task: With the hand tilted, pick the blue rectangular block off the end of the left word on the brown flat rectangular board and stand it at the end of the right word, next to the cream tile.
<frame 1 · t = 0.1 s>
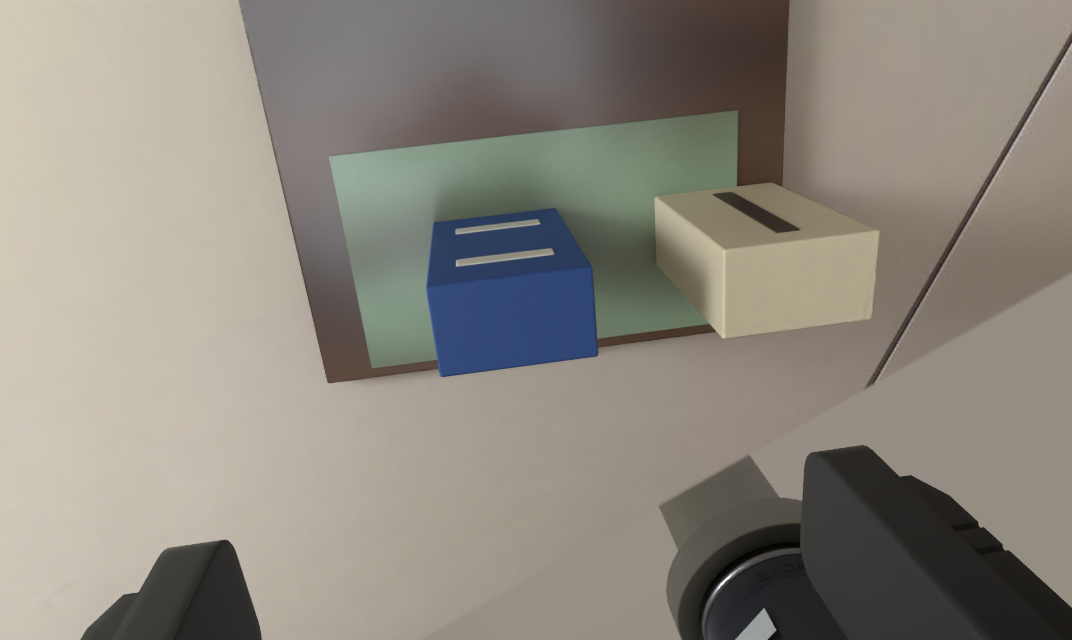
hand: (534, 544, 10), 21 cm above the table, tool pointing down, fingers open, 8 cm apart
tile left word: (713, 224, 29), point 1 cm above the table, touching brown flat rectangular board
brown flat rectangular board: (526, 35, 27), on the table
blue rectangular block: (499, 250, 29), point 1 cm above the table, touching brown flat rectangular board
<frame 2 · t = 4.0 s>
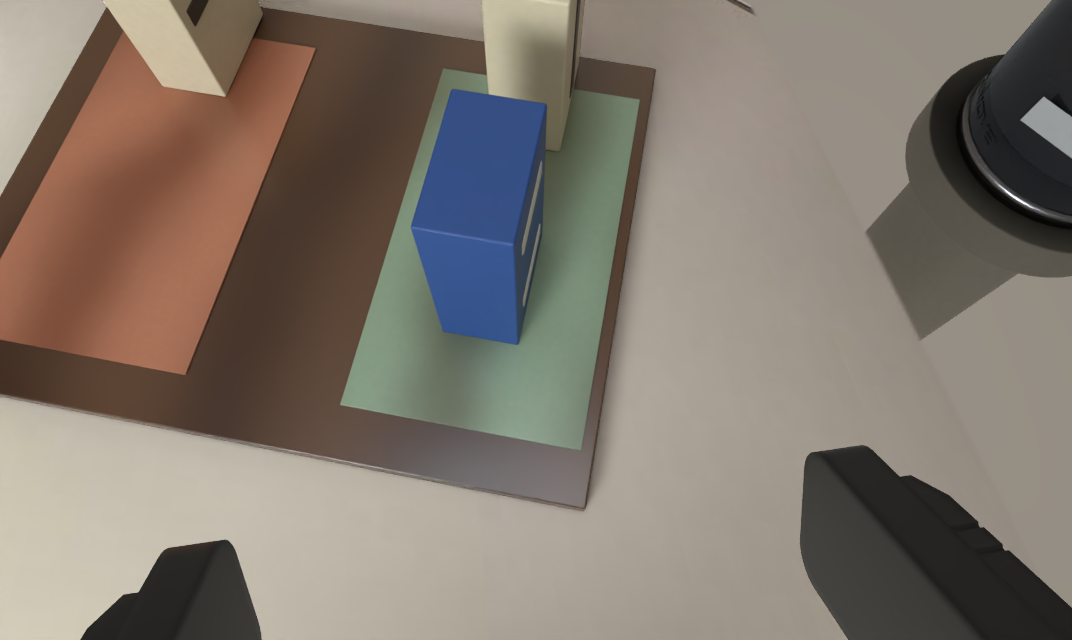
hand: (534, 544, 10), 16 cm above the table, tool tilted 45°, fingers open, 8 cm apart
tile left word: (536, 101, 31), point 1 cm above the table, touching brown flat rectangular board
brown flat rectangular board: (319, 213, 30), on the table
blue rectangular block: (493, 281, 28), point 1 cm above the table, touching brown flat rectangular board
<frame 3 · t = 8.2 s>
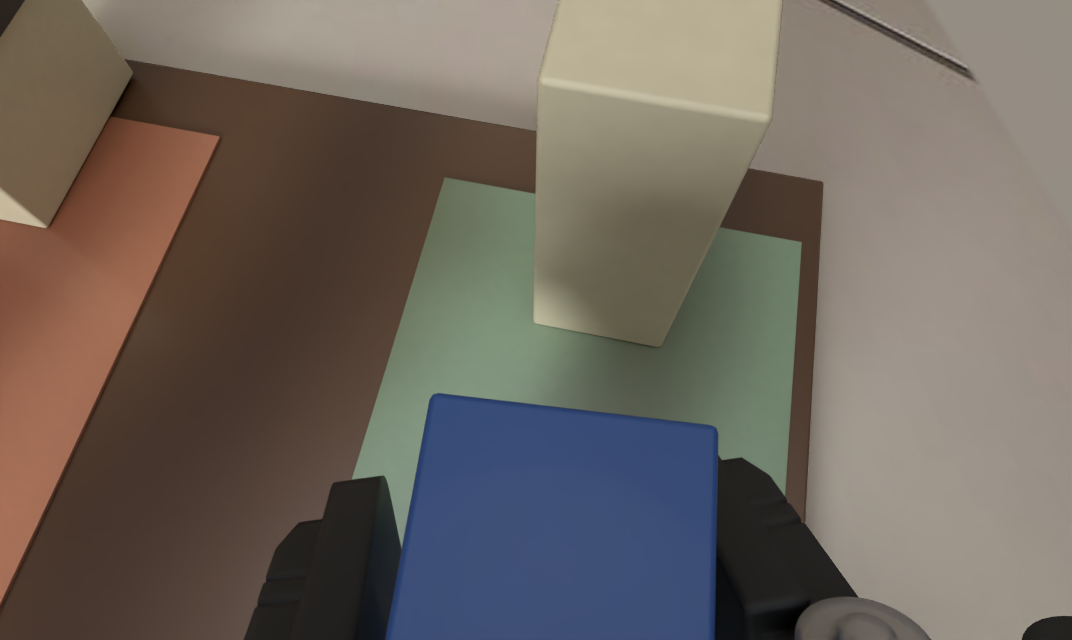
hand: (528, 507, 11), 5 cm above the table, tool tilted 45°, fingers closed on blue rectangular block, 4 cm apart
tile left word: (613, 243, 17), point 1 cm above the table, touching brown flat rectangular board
brown flat rectangular board: (203, 463, 16), on the table
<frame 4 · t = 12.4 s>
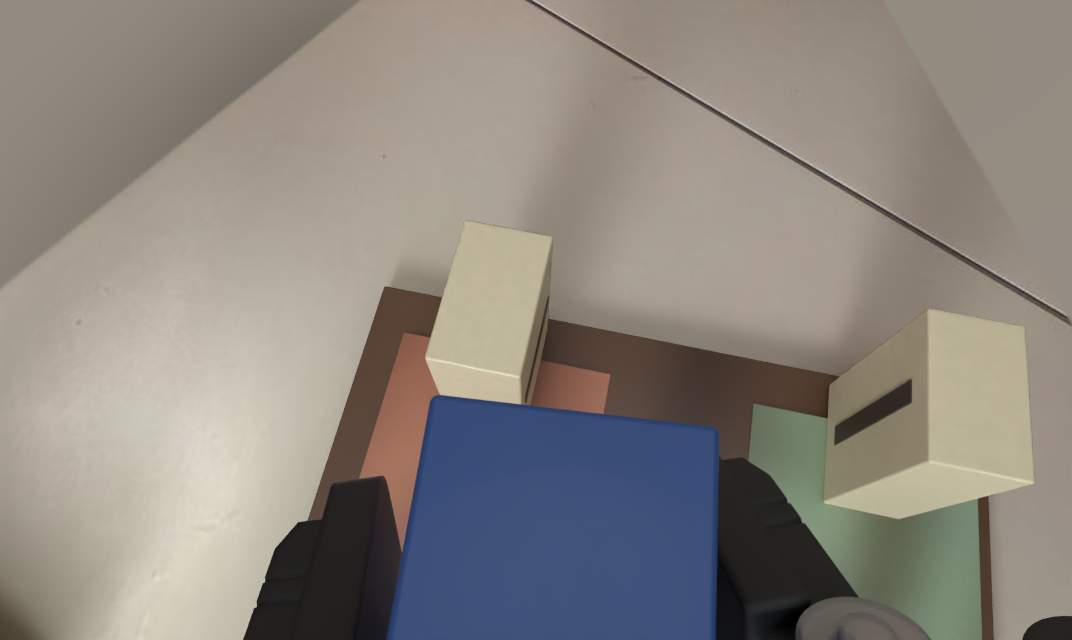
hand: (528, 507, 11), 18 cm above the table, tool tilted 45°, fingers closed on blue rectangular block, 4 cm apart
brown flat rectangular board: (638, 587, 27), on the table
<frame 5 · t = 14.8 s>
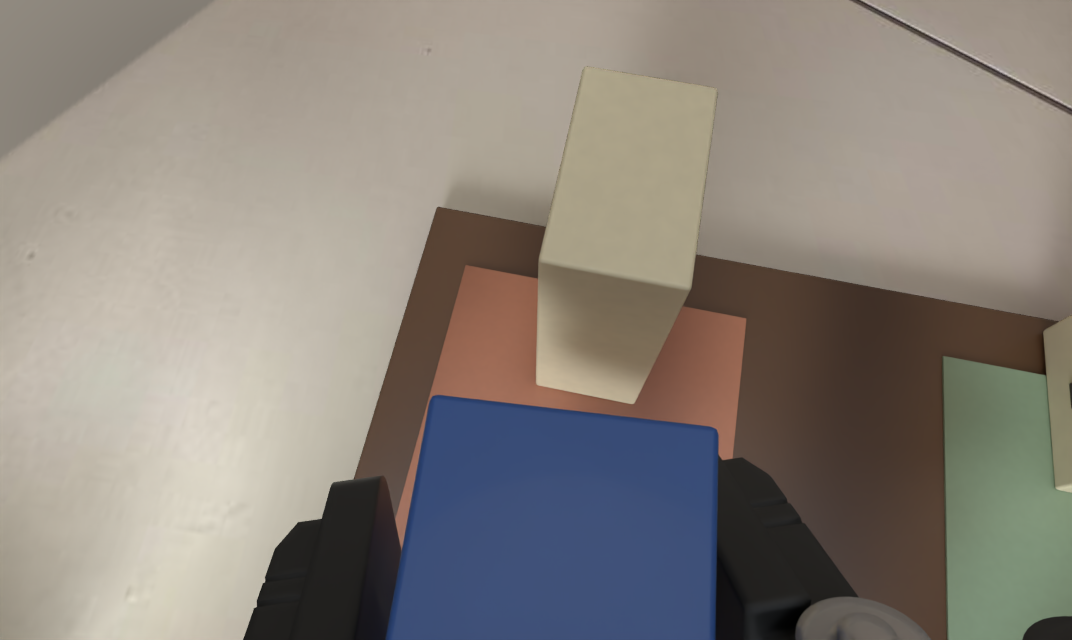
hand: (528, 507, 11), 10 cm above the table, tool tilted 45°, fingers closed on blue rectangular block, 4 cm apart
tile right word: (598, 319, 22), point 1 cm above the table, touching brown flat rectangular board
brown flat rectangular board: (804, 608, 19), on the table
when the fingers open (5 cm above the table, at t = 16.6 s): blue rectangular block stays where it is, resting on brown flat rectangular board.
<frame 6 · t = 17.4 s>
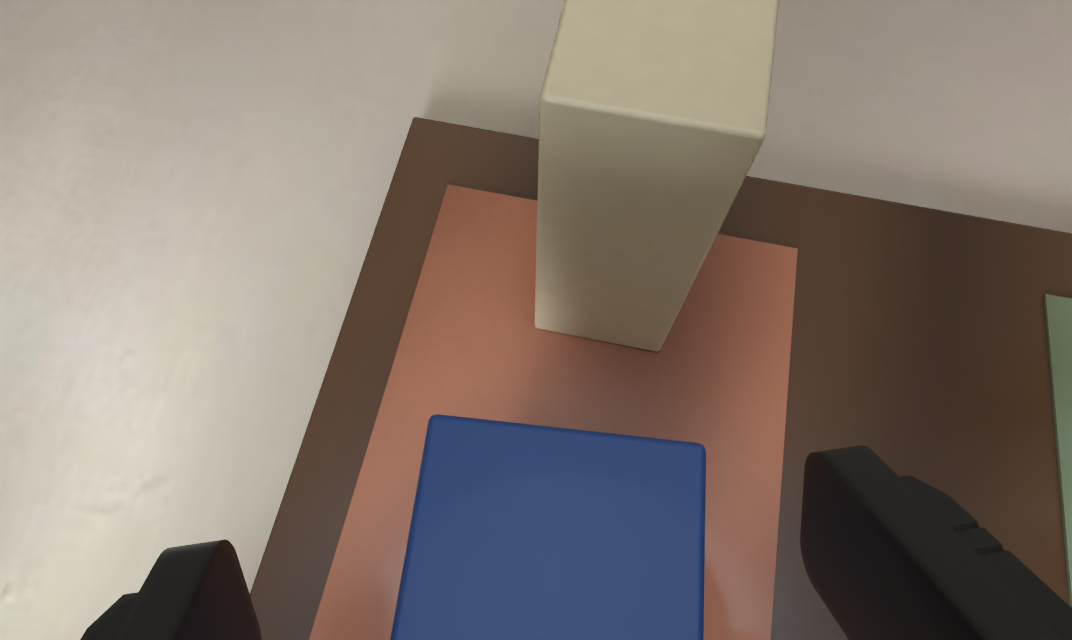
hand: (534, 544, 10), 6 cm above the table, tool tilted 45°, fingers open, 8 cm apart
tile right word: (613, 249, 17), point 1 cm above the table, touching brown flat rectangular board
brown flat rectangular board: (882, 610, 15), on the table
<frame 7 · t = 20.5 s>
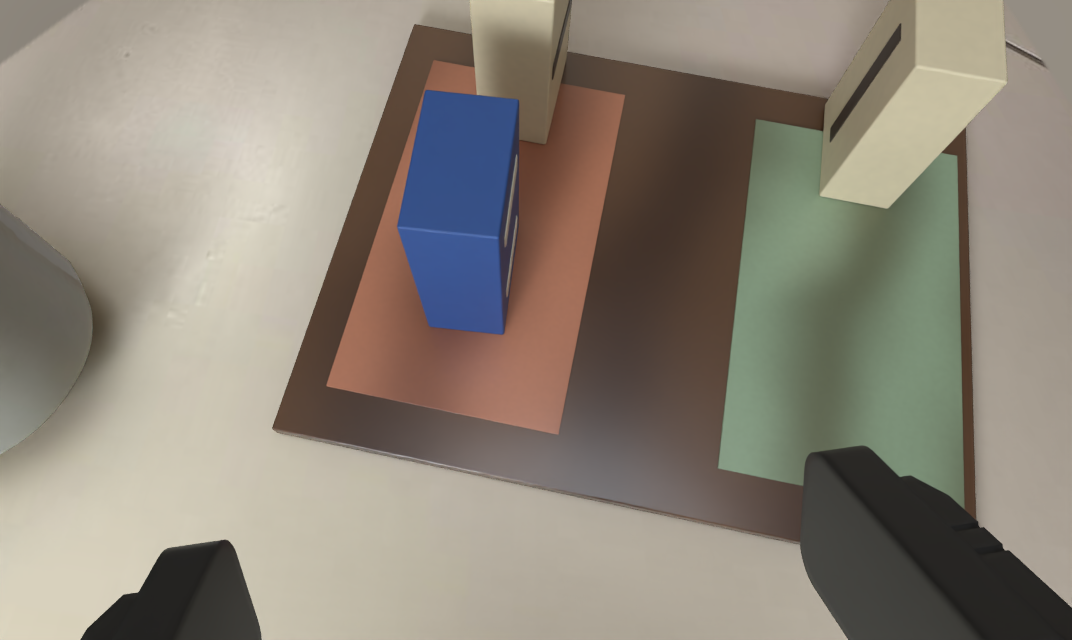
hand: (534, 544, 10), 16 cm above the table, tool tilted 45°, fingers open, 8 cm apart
brown flat rectangular board: (651, 266, 30), on the table
blue rectangular block: (475, 274, 29), point 1 cm above the table, touching brown flat rectangular board
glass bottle: (7, 375, 27), on the table
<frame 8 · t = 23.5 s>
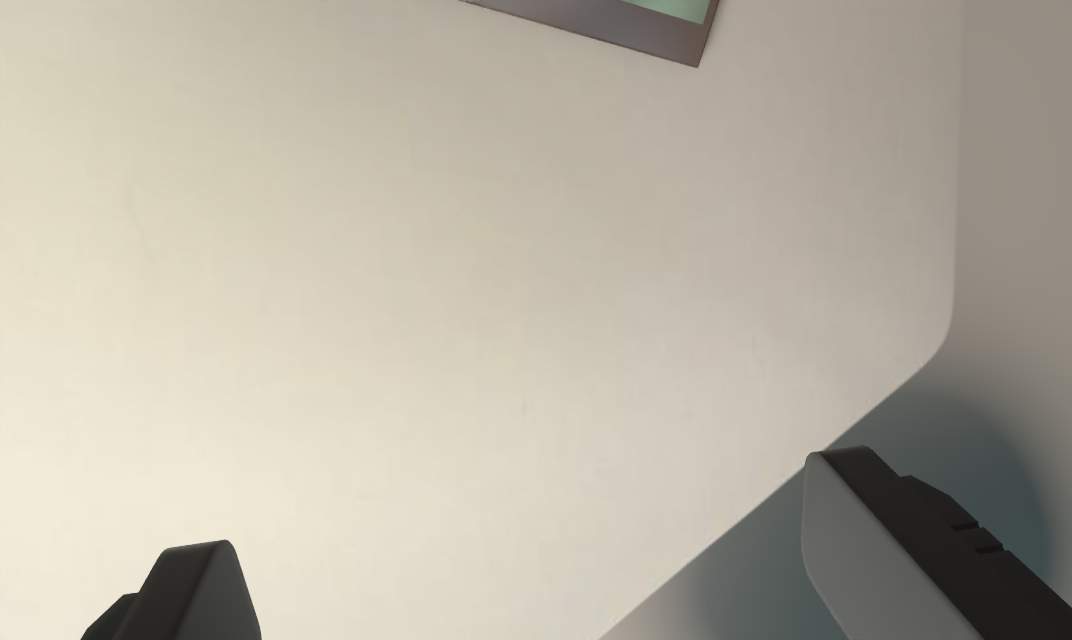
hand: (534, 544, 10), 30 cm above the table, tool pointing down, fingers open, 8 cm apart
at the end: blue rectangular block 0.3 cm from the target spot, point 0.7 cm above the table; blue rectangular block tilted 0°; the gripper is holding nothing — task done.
